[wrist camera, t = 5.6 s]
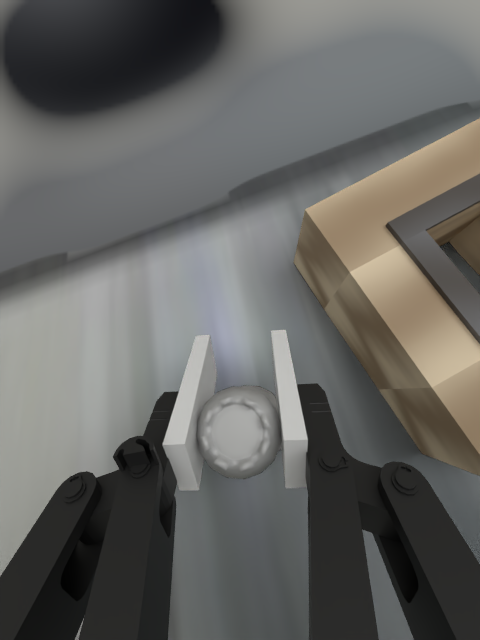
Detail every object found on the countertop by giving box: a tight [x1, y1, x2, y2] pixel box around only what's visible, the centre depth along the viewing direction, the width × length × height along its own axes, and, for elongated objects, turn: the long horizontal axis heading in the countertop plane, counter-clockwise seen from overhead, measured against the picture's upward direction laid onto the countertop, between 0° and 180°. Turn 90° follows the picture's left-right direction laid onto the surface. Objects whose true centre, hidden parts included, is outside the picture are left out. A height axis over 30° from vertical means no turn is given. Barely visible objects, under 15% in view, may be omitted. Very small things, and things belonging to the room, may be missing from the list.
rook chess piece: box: [196, 385, 281, 479], centre depth 13 cm, size 4×4×8 cm
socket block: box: [294, 119, 480, 476], centre depth 15 cm, size 14×14×6 cm
